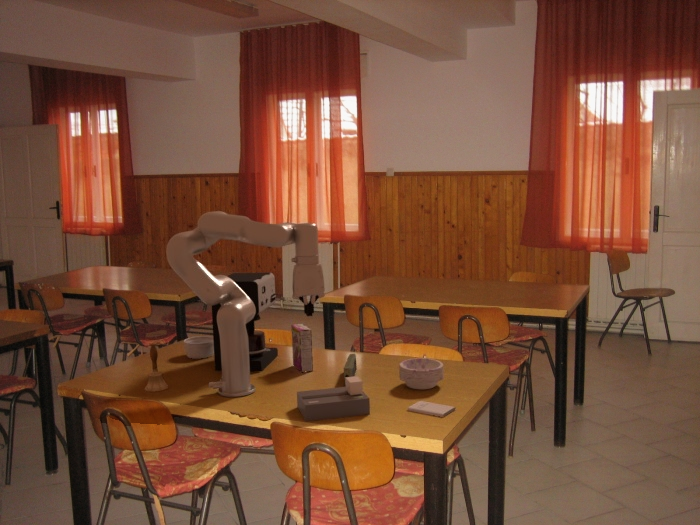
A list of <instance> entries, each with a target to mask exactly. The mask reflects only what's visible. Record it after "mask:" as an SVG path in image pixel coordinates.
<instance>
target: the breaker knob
mask: <svg viewBox="0 0 700 525" xmlns="http://www.w3.org/2000/svg"><path fill="white" fill-rule="evenodd" d="M345 384H346V391H347V392H348V393H349V394H350V395H357V394H363V392H364V390H363V389H364V385H363V384H364V382H363V379H361V378H360V377H359V376H358V375H355V376H354V377H345V381H344V385H345Z"/></svg>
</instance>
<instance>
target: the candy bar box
mask: <svg viewBox="0 0 700 525" xmlns="http://www.w3.org/2000/svg"><path fill="white" fill-rule="evenodd" d="M290 328H291V341H292V342H291V344H292V365H294V366H293V367H294V368H296V369H297V370H298V371H299V370H300V371H301V373H302V372H304V373H306V372H305V371H310V372H313V371H314V364H313V362H314V359H313V358H314V357H313V340H312V339H313V338H312V328H309V327H308V326H307V325H305V324H303V323H298V324H292V325H291V327H290ZM300 371H299V372H300Z"/></svg>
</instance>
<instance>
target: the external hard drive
mask: <svg viewBox="0 0 700 525" xmlns="http://www.w3.org/2000/svg"><path fill="white" fill-rule="evenodd" d="M455 409H456V406H451V405H446V404H440V403H436V402H435V403H434V402H431V401H430V402H428V401H425V400H419V401H417V402H415V403H414V404H412V405H410V406H408V407H407V411H409V412H413V413H417V414H418V413H419V414H424V415H428V416H433V415H435V416H434V417H438V416H440V418H444V416H445V417H446V416H448V415H449V414H451V413H453V412H455V411H456V410H455ZM452 411H453V412H452ZM447 414H448V415H447Z"/></svg>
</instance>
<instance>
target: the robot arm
mask: <svg viewBox="0 0 700 525" xmlns="http://www.w3.org/2000/svg"><path fill="white" fill-rule="evenodd" d="M318 228H319V227H318V225H317V224H316V223H313V222H300V223H293V222H280V223H269V222H260V221H255V220H252V219H250V218H249V217H248V216H246V215H238V214H230V213H227V212H224V211H222V210H221V211H220V210H217V211H208V212H205V213H203V214H201V216H200V217H199V218H198V221H197V226H196V227H195V228H194V229H191V230H187V231H182V232H178V233H175V234H174V235H173V236H172V237H171V238H170V239H169V240H168V242H167V245H166V251H165V252H166V260H167V263H168V264H169V267H170V268H171V270H173V272H175V274H176V275H177V276H178V277H180V279H181V280H183V282H184V283H185V284H186V285H187V286H188V287H189V289H190V290H192V292H193V293H194V294H195V295H196V296H197V297H198V298H199V299H200V301H201V302H203V303H204V305H207V306H211V307H212V306H213V305H217V304H219V303H220V304H221V305H222V306H221V307H220V309H219V310H218V313H217V324H218V329H219V335H220V347H221V364H222V371H221V377H220V379H219V380H218V381H211V382H208V388H209V389H211V388H212V389H215V390H216V389H217V391H218V392H217V393H218V394H219V395H220V396H222V397H229V398H236V397H238V398H239V397H244V396H248V395H251V394H254V392H256V386H255V385H254V384H252V383H251V372H250V363H249V343H248V334H247V330H246V325H245V324H246V323H248V322H249V321H251V320H252V319H253V318H254V316H255V312H256V309H255V305H254V303H253V301H252V300H251V299H250V298H249V297H248V296H247V295H246V293H245V292H244V291H243V290H242V289H241V288H240V287H239V286H238V285H237V284H236V283H235V282H234V281H233V280H232V279H231V278H229V277H227V276H228V275H223V274H217V275H214V274H212V272H210V271H209V269H207V267H206V266H205V265H204V264H203V263H201V262H200V261H199V260H197V259H196V258H195V257H194V256H195V255H196V256H197V255H200V254H202V253H204V252H205V251H207V250H209V248H211V247H212V246H213V245H214V244H215V243H217V242H218V241H219V240H230V241H234V242H235V241H237V242H241V243H244V244H251V245H255V246H262V247H270V248H282V247H286V246H290V245H294V248H295V256H294V257H291V259H290V260H291V263H294V266H293V270H292V299H294V300H298V301H300V302H302V303H303V309H304V310H303V313H304V315H306V317H313V314H315V308H314V307H315V303H316V302H317V300H319V299H321V298H324V297H325V296H326V295H325V279H324V278H325V277H324V271H323V265H322V264H320V260H319V232H318V230H319V229H318ZM308 296H309V301H308Z"/></svg>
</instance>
